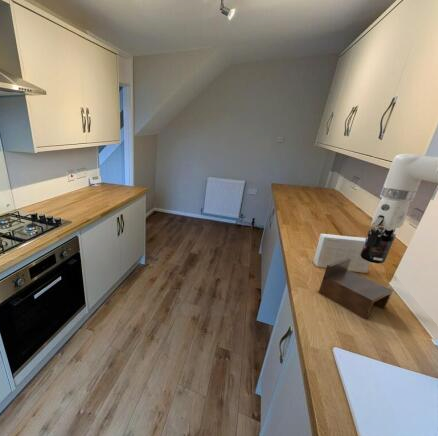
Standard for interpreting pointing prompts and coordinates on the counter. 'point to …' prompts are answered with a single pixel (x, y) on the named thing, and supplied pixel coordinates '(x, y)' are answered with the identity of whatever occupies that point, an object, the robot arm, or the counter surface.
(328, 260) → the skincare box
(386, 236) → the supplement container
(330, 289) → the shelf
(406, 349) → the counter surface
